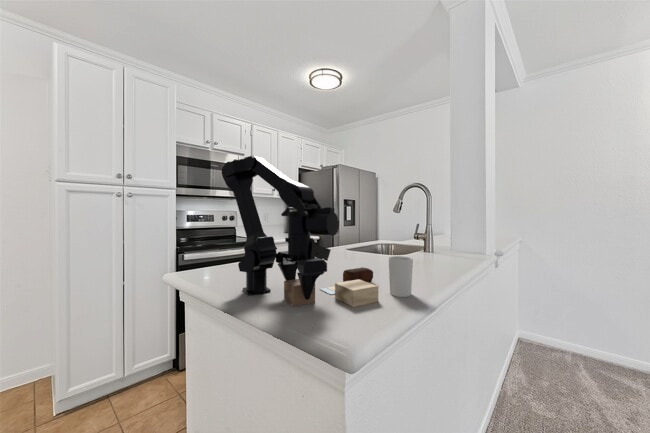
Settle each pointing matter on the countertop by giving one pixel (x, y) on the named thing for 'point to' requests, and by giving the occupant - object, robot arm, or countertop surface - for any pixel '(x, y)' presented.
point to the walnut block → (296, 293)
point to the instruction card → (329, 290)
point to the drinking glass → (400, 275)
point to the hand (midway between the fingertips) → (299, 294)
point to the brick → (358, 274)
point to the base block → (356, 292)
